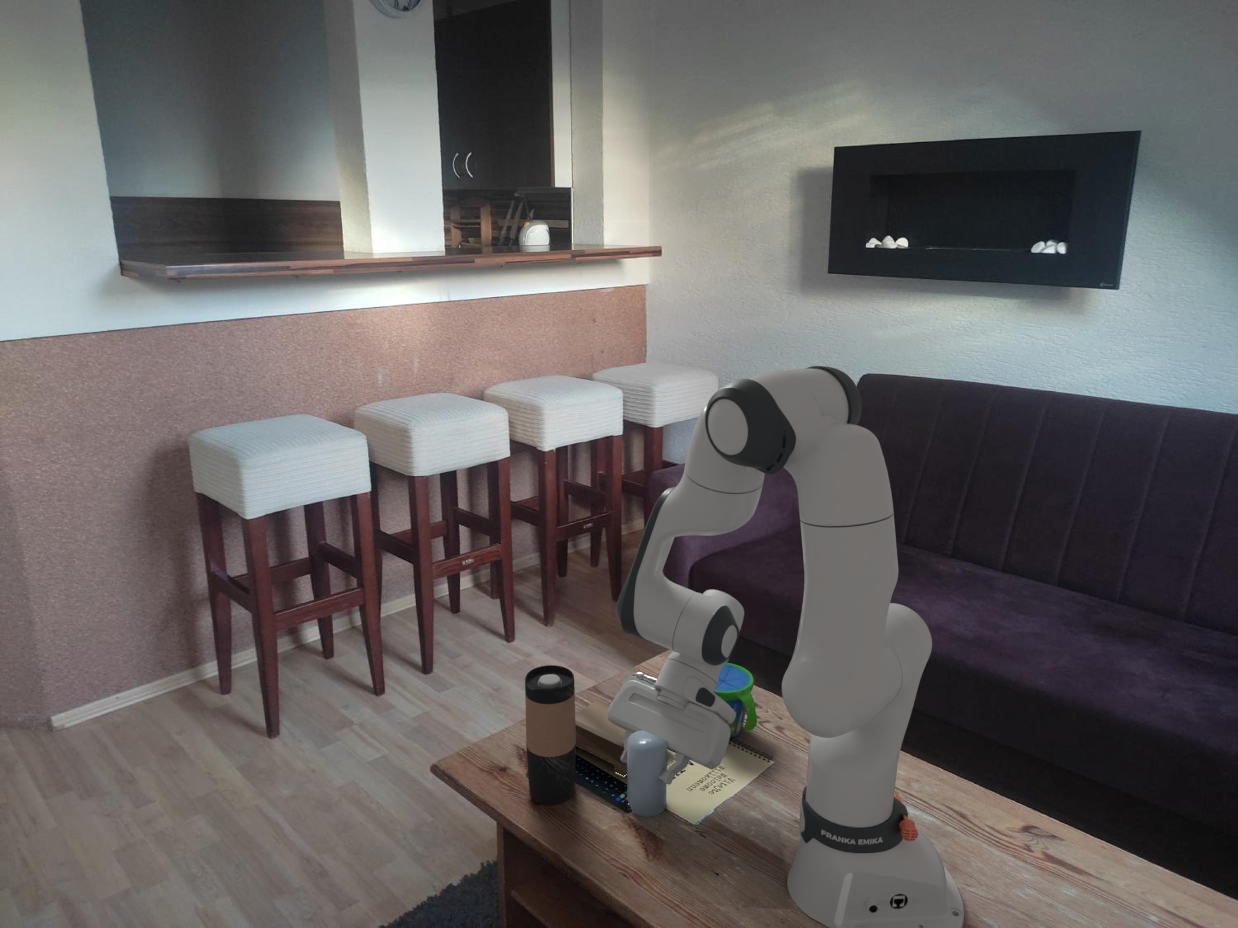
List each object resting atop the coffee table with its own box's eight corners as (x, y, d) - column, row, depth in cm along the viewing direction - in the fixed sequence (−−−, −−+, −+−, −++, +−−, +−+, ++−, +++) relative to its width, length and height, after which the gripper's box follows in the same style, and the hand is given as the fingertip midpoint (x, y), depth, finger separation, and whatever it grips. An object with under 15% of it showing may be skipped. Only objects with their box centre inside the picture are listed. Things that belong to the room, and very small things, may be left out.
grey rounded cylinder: (666, 792, 140) (667, 730, 137) (665, 817, 134) (666, 753, 131) (628, 790, 141) (628, 729, 138) (625, 815, 135) (625, 751, 132)
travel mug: (579, 777, 144) (578, 665, 138) (572, 807, 137) (570, 691, 131) (532, 774, 145) (529, 663, 139) (523, 804, 137) (519, 688, 132)
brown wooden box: (597, 714, 162) (597, 684, 160) (668, 747, 152) (669, 715, 150) (551, 743, 153) (551, 712, 151) (624, 780, 143) (624, 747, 142)
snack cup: (772, 742, 154) (775, 689, 151) (721, 759, 149) (723, 705, 146) (720, 699, 167) (722, 650, 164) (672, 714, 162) (673, 663, 159)
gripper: (623, 661, 144) (583, 740, 140) (730, 704, 132) (690, 793, 127) (640, 675, 149) (602, 752, 144) (745, 718, 136) (707, 804, 132)
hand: (644, 772), depth 136 cm, fingers closed on grey rounded cylinder, 6 cm apart
